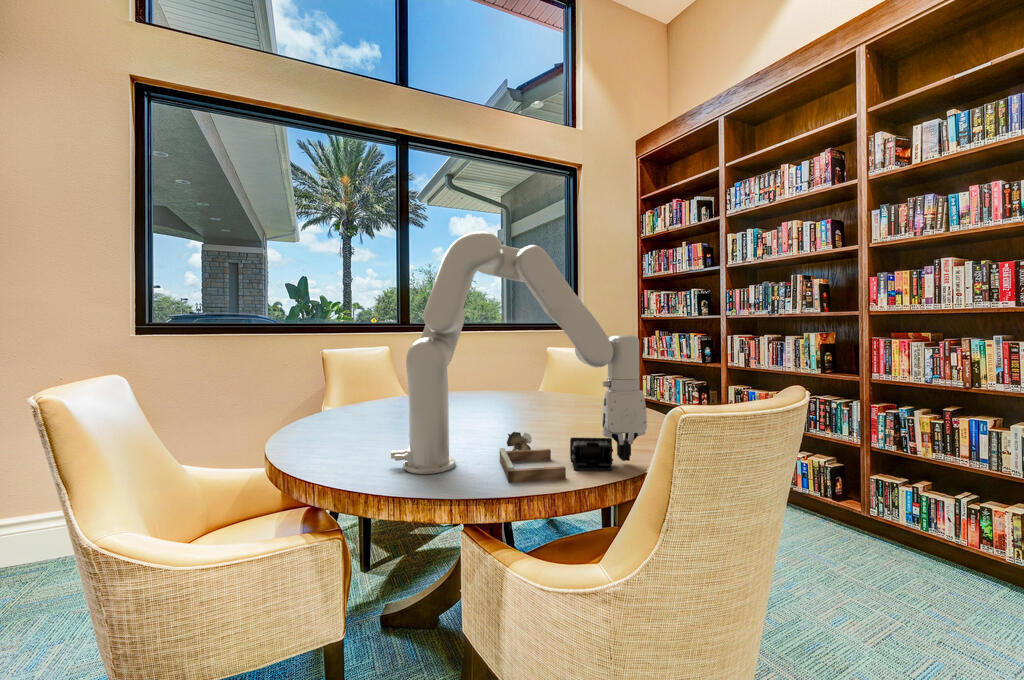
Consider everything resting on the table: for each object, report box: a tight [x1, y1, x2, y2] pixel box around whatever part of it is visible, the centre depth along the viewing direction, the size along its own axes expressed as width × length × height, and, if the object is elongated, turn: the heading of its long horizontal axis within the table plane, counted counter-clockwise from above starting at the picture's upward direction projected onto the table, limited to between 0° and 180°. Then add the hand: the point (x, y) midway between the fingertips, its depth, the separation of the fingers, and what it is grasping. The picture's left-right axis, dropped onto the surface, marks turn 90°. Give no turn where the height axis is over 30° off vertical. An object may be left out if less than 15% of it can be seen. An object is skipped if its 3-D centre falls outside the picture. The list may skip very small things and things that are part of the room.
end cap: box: [569, 437, 614, 472], centre depth 108 cm, size 10×7×7 cm
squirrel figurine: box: [506, 431, 532, 451], centre depth 118 cm, size 8×7×9 cm
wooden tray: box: [499, 447, 567, 483], centre depth 106 cm, size 13×15×3 cm
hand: (624, 459), depth 109 cm, fingers closed
